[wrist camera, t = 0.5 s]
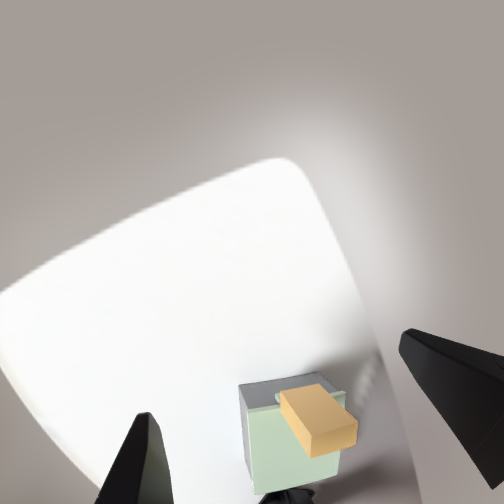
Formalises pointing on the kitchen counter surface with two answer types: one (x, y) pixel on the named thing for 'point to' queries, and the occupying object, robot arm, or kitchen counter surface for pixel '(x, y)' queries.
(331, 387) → the tub
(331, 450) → the lid
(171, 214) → the kitchen counter surface
